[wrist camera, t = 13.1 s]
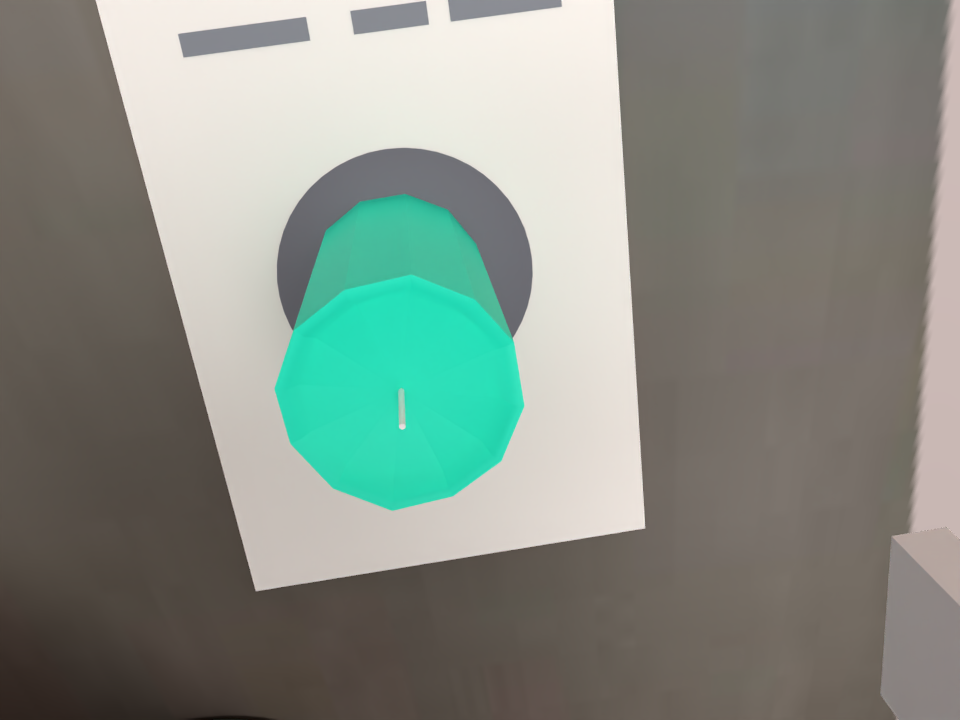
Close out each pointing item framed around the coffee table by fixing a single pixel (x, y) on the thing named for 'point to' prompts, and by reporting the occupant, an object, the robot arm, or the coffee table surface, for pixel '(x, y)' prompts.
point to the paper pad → (383, 173)
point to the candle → (400, 358)
